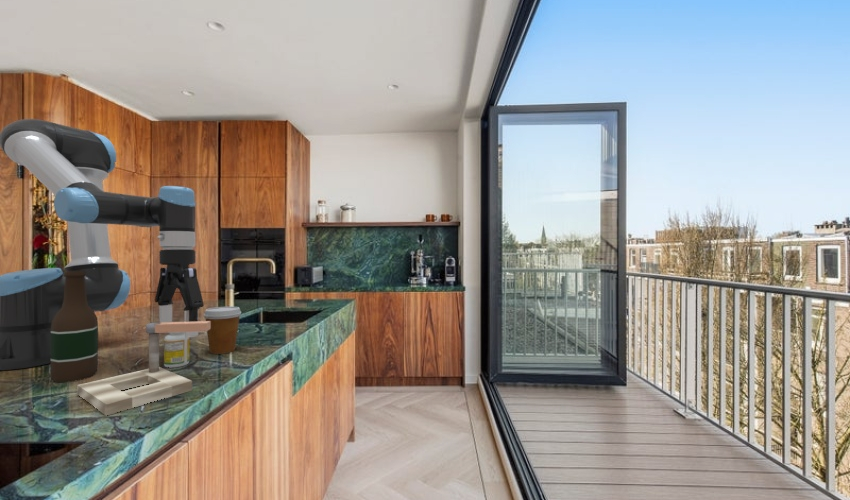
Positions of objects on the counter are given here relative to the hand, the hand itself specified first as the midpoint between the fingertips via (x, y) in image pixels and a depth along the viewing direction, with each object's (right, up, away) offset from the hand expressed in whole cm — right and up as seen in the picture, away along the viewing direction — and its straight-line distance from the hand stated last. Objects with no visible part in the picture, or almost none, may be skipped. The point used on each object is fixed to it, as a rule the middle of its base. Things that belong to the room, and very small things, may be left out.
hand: (178, 333), depth 93 cm
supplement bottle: (0, -8, 0) cm, 8 cm away
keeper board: (+3, -8, -18) cm, 20 cm away
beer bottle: (-17, -8, -9) cm, 21 cm away
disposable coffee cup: (+4, -8, +13) cm, 16 cm away
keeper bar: (+7, +3, -10) cm, 12 cm away
